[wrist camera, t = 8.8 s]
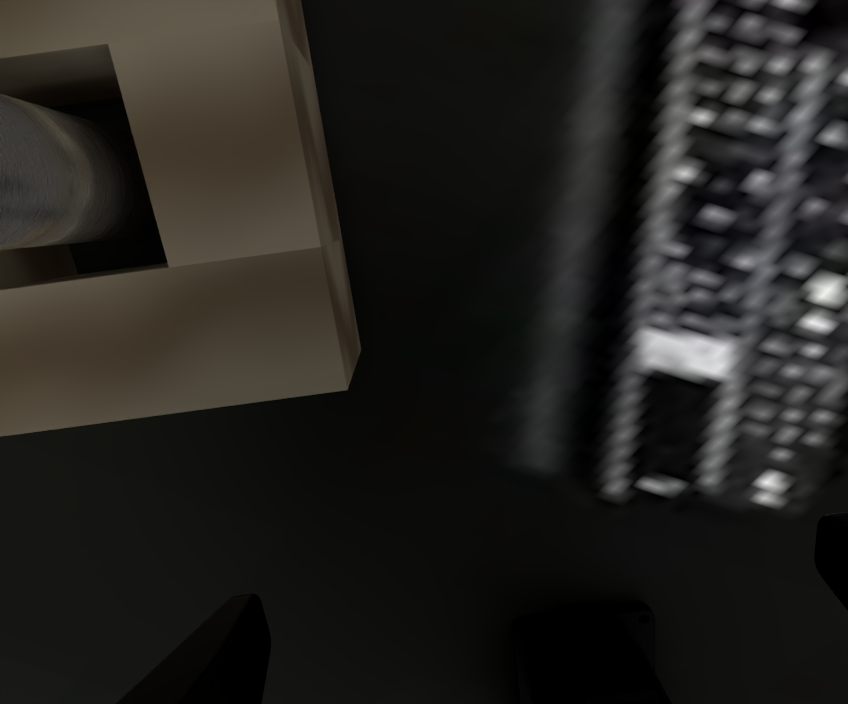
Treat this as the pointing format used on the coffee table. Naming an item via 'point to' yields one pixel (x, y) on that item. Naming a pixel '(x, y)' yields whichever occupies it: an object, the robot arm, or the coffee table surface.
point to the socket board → (181, 218)
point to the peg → (68, 180)
